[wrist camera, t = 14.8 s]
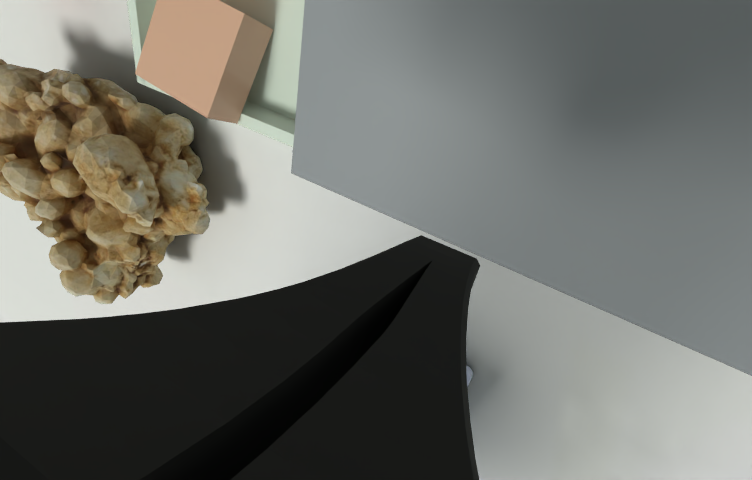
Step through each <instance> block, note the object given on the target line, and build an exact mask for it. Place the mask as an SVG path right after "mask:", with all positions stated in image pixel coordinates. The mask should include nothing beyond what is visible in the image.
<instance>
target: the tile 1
mask: <svg viewBox="0 0 752 480" xmlns="http://www.w3.org/2000/svg"><path fill="white" fill-rule="evenodd" d="M272 31H273V29H271V28H269V27H268V26H266V25H264V24H262V23H261V22H259V21H257V20H255V19H253V18H252V17H250V16H248V15H246V14H245V13H243V12H241V11H239V10H237V9H235V8H233V7H231V6H229V5H227V4H225V3H223V2H221V1H219V0H157V1H156V4H155V8H154V11H153V15H152V18H151V21H150V25H149V28H148V31H147V35H146V38H145V42H144V45H143V48H142V52H141V55H140V59H139V62H138V65H137V69H136V72H135V74H136V75H138V76H139V77H141V78H143V79H144V80H146V81H147V82H149V83H151V84H152V85H154V86H156V87H157V88H159V89H160V90H162V91H164V92H165V93H167V94H169V95H170V96H172V97H174V98H175V99H177V100H178V101H180V102H182V103H183V104H185V105H187V106H188V107H190V108H191V109H193V110H195V111H196V112H198V113H200V114H201V115H203V116H205V117H206V118H209V119H215V120H220V121H226V122H231V123H238V121H239V118H240V115H241V113H242V110H243V107H244V105H245V102H246V100H247V97H248V94H249V92H250V89H251V86H252V84H253V81H254V79H255V76H256V73H257V71H258V68H259V65H260V63H261V60H262V58H263V55H264V52H265V50H266V47H267V45H268V42H269V39H270V37H271V34H272Z"/></svg>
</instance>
